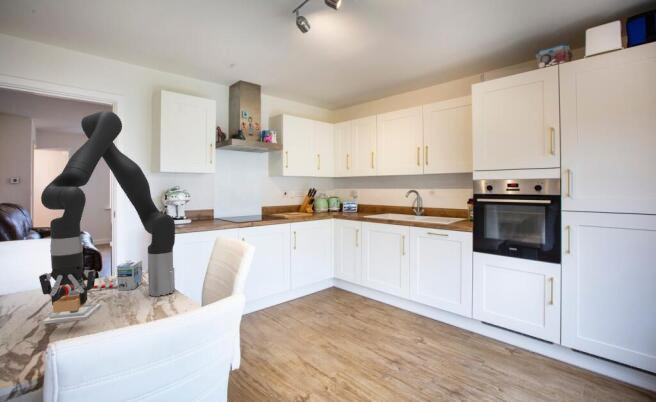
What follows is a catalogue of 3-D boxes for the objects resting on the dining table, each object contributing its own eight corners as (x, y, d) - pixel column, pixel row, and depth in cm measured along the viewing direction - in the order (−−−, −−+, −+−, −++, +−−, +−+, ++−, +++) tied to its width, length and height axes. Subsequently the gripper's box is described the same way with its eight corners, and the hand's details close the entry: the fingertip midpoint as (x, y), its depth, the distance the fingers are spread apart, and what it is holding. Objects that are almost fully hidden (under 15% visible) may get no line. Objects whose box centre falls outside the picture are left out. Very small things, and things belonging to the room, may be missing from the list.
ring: (86, 303, 101) (85, 293, 101) (77, 310, 95) (76, 300, 95) (63, 305, 99) (63, 296, 99) (53, 312, 93) (52, 303, 93)
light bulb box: (134, 290, 134) (133, 265, 134) (116, 291, 133) (116, 266, 132) (143, 282, 145) (142, 259, 144) (127, 283, 143) (126, 260, 143)
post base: (101, 306, 116) (100, 285, 116) (86, 319, 105) (85, 295, 104) (62, 309, 113) (61, 287, 112) (43, 323, 101) (42, 299, 101)
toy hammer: (122, 284, 143) (122, 270, 143) (120, 292, 133) (119, 277, 132) (57, 292, 132) (57, 277, 131) (49, 301, 122) (48, 285, 121)
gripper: (99, 247, 102) (102, 298, 103) (45, 250, 97) (48, 303, 98) (89, 252, 95) (92, 306, 96) (30, 256, 90) (34, 313, 91)
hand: (70, 305), depth 97 cm, fingers closed on ring, 6 cm apart
